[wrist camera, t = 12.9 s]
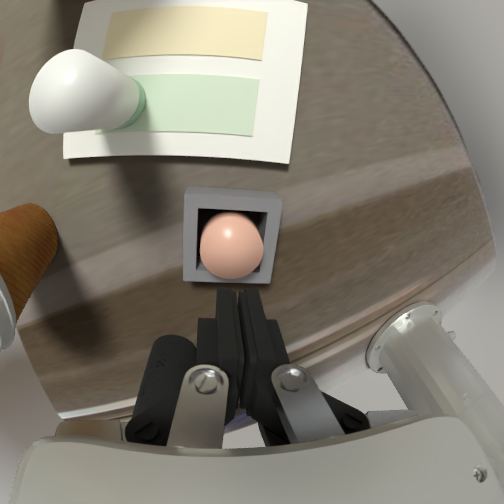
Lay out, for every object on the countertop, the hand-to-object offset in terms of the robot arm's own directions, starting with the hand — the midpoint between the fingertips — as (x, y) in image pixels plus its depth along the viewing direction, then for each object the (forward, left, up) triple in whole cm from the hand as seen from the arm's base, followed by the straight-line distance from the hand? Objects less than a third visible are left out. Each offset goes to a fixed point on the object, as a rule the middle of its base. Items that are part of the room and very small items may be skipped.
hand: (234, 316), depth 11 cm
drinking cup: (+4, +15, -12) cm, 20 cm away
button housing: (-1, +1, -12) cm, 12 cm away
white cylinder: (+8, -9, -11) cm, 17 cm away
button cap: (-1, +1, -11) cm, 11 cm away
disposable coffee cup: (+18, +2, -12) cm, 22 cm away
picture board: (+4, -12, -12) cm, 18 cm away
